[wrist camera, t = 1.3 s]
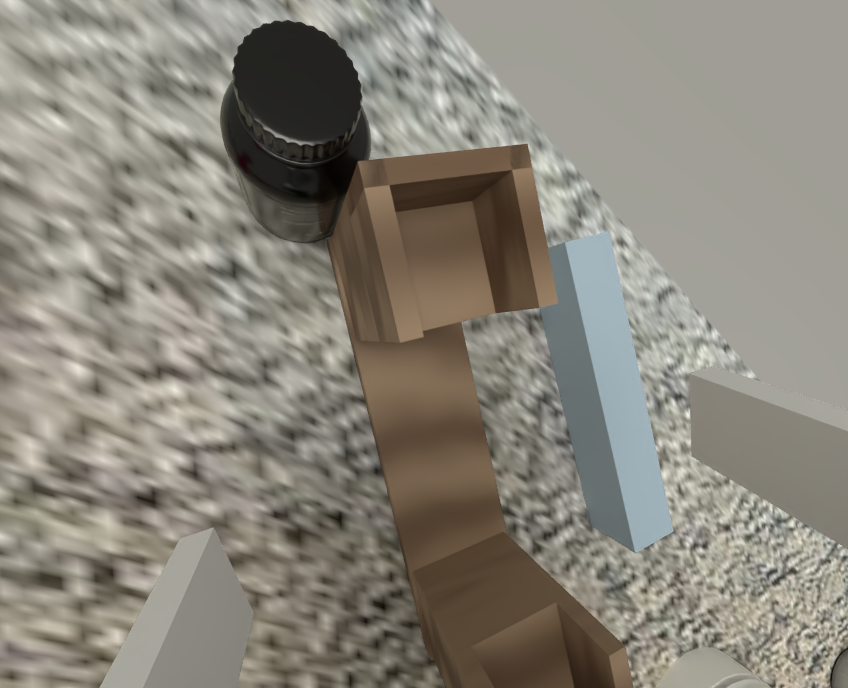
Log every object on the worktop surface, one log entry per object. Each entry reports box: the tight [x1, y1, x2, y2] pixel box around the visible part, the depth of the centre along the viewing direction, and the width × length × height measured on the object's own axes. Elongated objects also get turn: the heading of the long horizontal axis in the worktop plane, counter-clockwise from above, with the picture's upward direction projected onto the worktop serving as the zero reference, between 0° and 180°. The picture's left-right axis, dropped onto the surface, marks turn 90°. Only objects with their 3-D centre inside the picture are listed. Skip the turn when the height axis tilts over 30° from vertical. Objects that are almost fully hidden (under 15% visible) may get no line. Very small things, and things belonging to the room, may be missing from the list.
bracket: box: [327, 144, 633, 688], centre depth 23 cm, size 31×8×13 cm, turn 13°
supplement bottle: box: [220, 20, 371, 242], centre depth 21 cm, size 7×7×12 cm
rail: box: [540, 232, 673, 553], centre depth 32 cm, size 24×4×5 cm, turn 16°
